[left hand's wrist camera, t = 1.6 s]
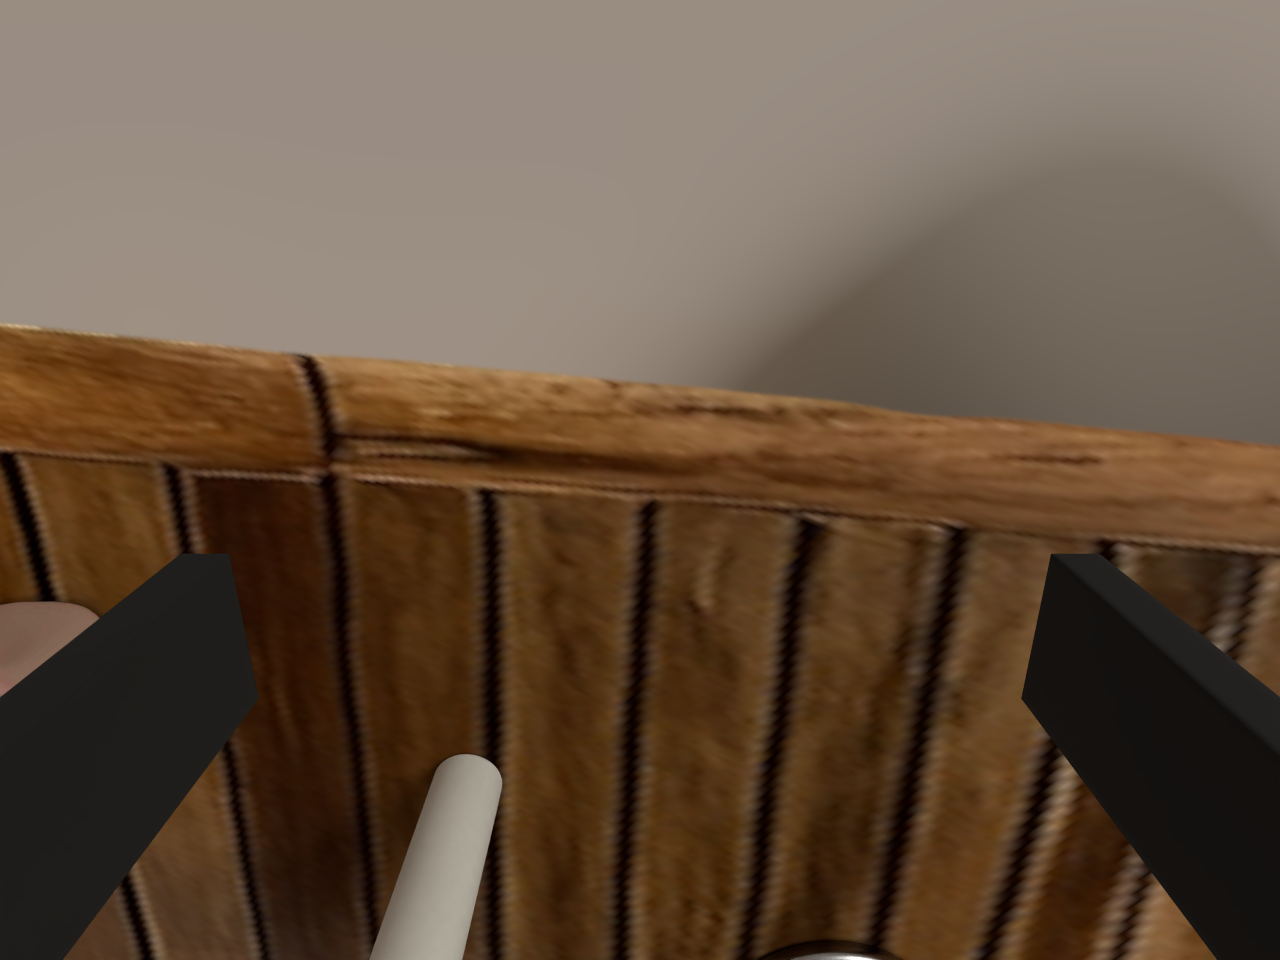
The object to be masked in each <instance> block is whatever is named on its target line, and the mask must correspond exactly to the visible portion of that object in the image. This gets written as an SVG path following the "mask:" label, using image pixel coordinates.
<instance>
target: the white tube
mask: <svg viewBox="0 0 1280 960" xmlns="http://www.w3.org/2000/svg"><path fill="white" fill-rule="evenodd" d="M501 789H502V779H501V775H500V773H499V771H498V770H497V768H496V767H495V766H494V765H493V764H492V763H491V762H489V761H488V760H486V759H484V758H482V757H479V756H476V755H470V754H461V755H456V756H452V757H450V758H448V759H446V760H445V761H443V762H442V763H441V764H440V765H439V766H438V768H437V770H436V772H435V775H434V777H433V780H432V783H431V786H430V789H429V792H428V795H427V797H426V800H425V803H424V806H423V809H422V812H421V814H420V817H419V820H418V823H417V826H416V829H415V832H414V834H413V837H412V840H411V843H410V846H409V849H408V851H407V854H406V857H405V860H404V863H403V866H402V869H401V871H400V874H399V877H398V880H397V883H396V886H395V888H394V891H393V894H392V897H391V900H390V903H389V906H388V908H387V911H386V914H385V917H384V920H383V923H382V925H381V928H380V931H379V934H378V937H377V940H376V942H375V945H374V948H373V951H372V954H371V957H370V960H462V958H463V954H464V949H465V945H466V941H467V936H468V932H469V928H470V923H471V919H472V915H473V910H474V906H475V902H476V897H477V893H478V889H479V884H480V880H481V876H482V871H483V867H484V863H485V858H486V854H487V850H488V845H489V841H490V837H491V832H492V828H493V824H494V819H495V815H496V811H497V806H498V802H499V798H500V793H501Z"/></svg>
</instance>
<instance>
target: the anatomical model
mask: <svg viewBox="0 0 1280 960" xmlns="http://www.w3.org/2000/svg"><path fill="white" fill-rule="evenodd" d="M98 619H99V617H98V616H97V615H96V614H95V613H93V612H92V611H90V610H89V609H87V608H85V607H82V606H79V605H76V604H71V603H63V602H15V603H9V604H2V605H0V697H1V696H2V695H3V694H5V693H6V692H7V691H9V690H10V689H11V688H12V687H14V686H15V685H16V684H17V683H19V682H20V681H21V680H22V679H24V678H25V677H26V676H27V675H29V674H30V673H31V672H32V671H34V670H35V669H36V668H38V667H39V666H40V665H41V664H43V663H44V662H45V661H46V660H48V659H49V658H50V657H51V656H53V655H54V654H55V653H56V652H58V651H59V650H60V649H61V648H63V647H64V646H65V645H67V644H68V643H69V642H70V641H72V640H73V639H74V638H75V637H77V636H78V635H79V634H80V633H82V632H83V631H84V630H85V629H87V628H88V627H89V626H90V625H92V624H93V623H94V622H96V621H97V620H98Z"/></svg>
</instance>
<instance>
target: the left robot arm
mask: <svg viewBox="0 0 1280 960" xmlns="http://www.w3.org/2000/svg"><path fill="white" fill-rule="evenodd" d="M258 699H259V698H258V693H257V688H256V684H255V679H254V674H253V669H252V664H251V659H250V654H249V649H248V645H247V640H246V635H245V630H244V625H243V620H242V615H241V611H240V606H239V601H238V596H237V591H236V586H235V581H234V576H233V572H232V567H231V562H230V557H229V554H180V555H179V556H178V557H176V558H175V559H174V560H172V561H171V562H170V563H169V564H167V565H166V566H165V567H164V568H162V569H161V570H160V571H159V572H157V573H156V574H155V575H154V576H152V577H151V578H150V579H148V580H147V581H146V582H145V583H143V584H142V585H141V586H140V587H138V588H137V589H136V590H135V591H133V592H132V593H131V594H130V595H128V596H127V597H126V598H125V599H123V600H122V601H121V602H119V603H118V604H117V605H116V606H114V607H113V608H112V609H111V610H109V611H108V612H107V613H106V614H104V615H103V616H102V617H101V618H99V619H98V620H97V621H96V622H94V623H93V624H92V625H90V626H89V627H88V628H87V629H85V630H84V631H83V632H82V633H80V634H79V635H78V636H77V637H75V638H74V639H73V640H72V641H70V642H69V643H68V644H67V645H65V646H64V647H63V648H61V649H60V650H59V651H58V652H56V653H55V654H54V655H53V656H51V657H50V658H49V659H48V660H46V661H45V662H44V663H43V664H41V665H40V666H39V667H38V668H36V669H35V670H34V671H32V672H31V673H30V674H29V675H27V676H26V677H25V678H24V679H22V680H21V681H20V682H19V683H17V684H16V685H15V686H14V687H12V688H11V689H10V690H9V691H7V692H6V693H5V694H3V695H2V696H1V697H0V960H63V959H64V957H65V956H66V955H67V953H68V952H69V951H70V949H71V948H72V947H73V945H74V944H75V943H76V941H77V940H78V939H79V937H80V936H81V935H82V933H83V932H84V931H85V929H86V928H87V927H88V925H89V924H90V923H91V921H92V920H93V919H94V917H95V916H96V915H97V913H98V912H99V911H100V909H101V908H102V907H103V905H104V904H105V903H106V901H107V900H108V899H109V897H110V896H111V895H112V893H113V892H114V891H115V889H116V888H117V887H118V885H119V884H120V883H121V881H122V880H123V879H124V877H125V876H126V875H127V873H128V872H129V871H130V869H131V868H132V867H133V865H134V864H135V863H136V861H137V860H138V859H139V857H140V856H141V855H142V853H143V852H144V851H145V849H146V848H147V847H148V845H149V844H150V843H151V841H152V840H153V839H154V837H155V836H156V835H157V833H158V832H159V831H160V829H161V828H162V827H163V825H164V824H165V823H166V821H167V820H168V819H169V817H170V816H171V815H172V813H173V812H174V811H175V809H176V808H177V807H178V805H179V804H180V803H181V801H182V800H183V799H184V797H185V796H186V795H187V793H188V792H189V791H190V789H191V788H192V787H193V785H194V784H195V783H196V781H197V780H198V779H199V777H200V776H201V775H202V773H203V772H204V771H205V769H206V768H207V767H208V765H209V764H210V763H211V761H212V760H213V759H214V757H215V756H216V755H217V753H218V752H219V751H220V749H221V748H222V747H223V745H224V744H225V743H226V741H227V740H228V739H229V737H230V736H231V735H232V733H233V732H234V731H235V729H236V728H237V727H238V725H239V724H240V723H241V721H242V720H243V719H244V717H245V716H246V715H247V713H248V712H249V711H250V709H251V708H252V707H253V705H254V704H255V703H256V701H257V700H258ZM1021 699H1022V700H1023V701H1024V703H1025V704H1026V705H1027V707H1028V708H1029V709H1030V711H1031V712H1032V713H1033V715H1034V716H1035V717H1036V719H1037V720H1038V721H1039V723H1040V724H1041V725H1042V727H1043V728H1044V729H1045V731H1046V732H1047V733H1048V735H1049V736H1050V737H1051V739H1052V740H1053V741H1054V743H1055V744H1056V745H1057V747H1058V748H1059V749H1060V751H1061V752H1062V753H1063V755H1064V756H1065V757H1066V759H1067V760H1068V761H1069V763H1070V764H1071V765H1072V767H1073V768H1074V769H1075V771H1076V772H1077V773H1078V775H1079V776H1080V777H1081V779H1082V780H1083V781H1084V783H1085V784H1086V785H1087V787H1088V788H1089V789H1090V791H1091V792H1092V793H1093V795H1094V796H1095V797H1096V799H1097V800H1098V801H1099V803H1100V804H1101V805H1102V807H1103V808H1104V809H1105V811H1106V812H1107V813H1108V815H1109V816H1110V817H1111V819H1112V820H1113V821H1114V823H1115V824H1116V825H1117V827H1118V828H1119V829H1120V831H1121V832H1122V833H1123V835H1124V836H1125V837H1126V839H1127V840H1128V841H1129V843H1130V844H1131V845H1132V847H1133V848H1134V849H1135V851H1136V852H1137V853H1138V855H1139V856H1140V857H1141V859H1142V860H1143V861H1144V863H1145V864H1146V865H1147V867H1148V868H1149V869H1150V871H1151V872H1152V873H1153V875H1154V876H1155V877H1156V879H1157V880H1158V881H1159V883H1160V884H1161V885H1162V887H1163V888H1164V889H1165V891H1166V892H1167V893H1168V895H1169V896H1170V897H1171V899H1172V900H1173V901H1174V903H1175V904H1176V905H1177V907H1178V908H1179V909H1180V911H1181V912H1182V913H1183V915H1184V916H1185V917H1186V919H1187V920H1188V921H1189V923H1190V924H1191V925H1192V927H1193V928H1194V929H1195V931H1196V932H1197V933H1198V935H1199V936H1200V937H1201V939H1202V940H1203V941H1204V943H1205V944H1206V945H1207V947H1208V948H1209V949H1210V951H1211V952H1212V953H1213V955H1214V956H1215V957H1216V959H1217V960H1280V697H1279V696H1278V695H1277V694H1275V693H1274V692H1273V691H1271V690H1270V689H1269V688H1268V687H1266V686H1265V685H1264V684H1263V683H1261V682H1260V681H1259V680H1258V679H1256V678H1255V677H1254V676H1253V675H1251V674H1250V673H1249V672H1248V671H1246V670H1245V669H1244V668H1242V667H1241V666H1240V665H1239V664H1237V663H1236V662H1235V661H1234V660H1232V659H1231V658H1230V657H1229V656H1227V655H1226V654H1225V653H1224V652H1222V651H1221V650H1220V649H1219V648H1217V647H1216V646H1215V645H1213V644H1212V643H1211V642H1210V641H1208V640H1207V639H1206V638H1205V637H1203V636H1202V635H1201V634H1200V633H1198V632H1197V631H1196V630H1195V629H1193V628H1192V627H1191V626H1190V625H1188V624H1187V623H1186V622H1184V621H1183V620H1182V619H1181V618H1179V617H1178V616H1177V615H1176V614H1174V613H1173V612H1172V611H1171V610H1169V609H1168V608H1167V607H1166V606H1164V605H1163V604H1162V603H1161V602H1159V601H1158V600H1157V599H1155V598H1154V597H1153V596H1152V595H1150V594H1149V593H1148V592H1147V591H1145V590H1144V589H1143V588H1142V587H1140V586H1139V585H1138V584H1137V583H1135V582H1134V581H1133V580H1132V579H1130V578H1129V577H1128V576H1126V575H1125V574H1124V573H1123V572H1121V571H1120V570H1119V569H1118V568H1116V567H1115V566H1114V565H1113V564H1111V563H1110V562H1109V561H1108V560H1106V559H1105V558H1104V557H1102V556H1101V555H1100V554H1051V557H1050V562H1049V567H1048V572H1047V576H1046V581H1045V586H1044V591H1043V596H1042V601H1041V606H1040V611H1039V615H1038V620H1037V625H1036V630H1035V635H1034V640H1033V645H1032V649H1031V654H1030V659H1029V664H1028V669H1027V674H1026V679H1025V684H1024V688H1023V693H1022V698H1021ZM762 960H902V959H901V958H899V957H897V956H895V955H894V954H891V953H889V952H887V951H885V950H882V949H879V948H877V947H873V946H869V945H865V944H860V943H854V942H843V941H826V942H815V943H808V944H803V945H799V946H795V947H791V948H788V949H785V950H782V951H779V952H777V953H774V954H772V955H770V956H768V957H766V958H764V959H762Z"/></svg>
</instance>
